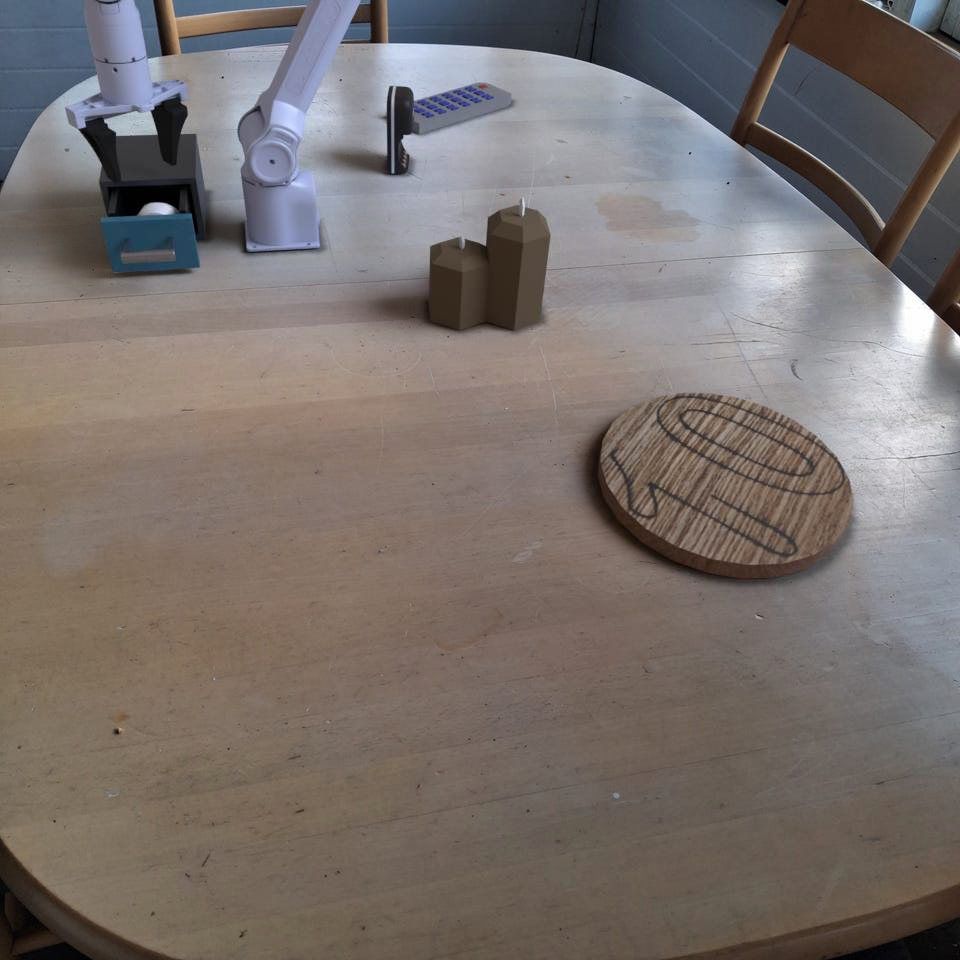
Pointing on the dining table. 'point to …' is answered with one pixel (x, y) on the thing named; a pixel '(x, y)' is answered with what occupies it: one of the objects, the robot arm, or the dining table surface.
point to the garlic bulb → (158, 209)
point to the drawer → (150, 229)
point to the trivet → (724, 485)
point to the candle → (492, 273)
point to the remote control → (458, 106)
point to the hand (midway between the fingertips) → (142, 171)
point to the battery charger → (398, 127)
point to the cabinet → (159, 171)
